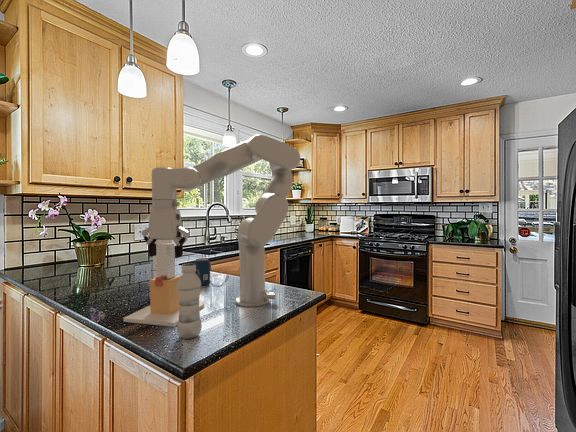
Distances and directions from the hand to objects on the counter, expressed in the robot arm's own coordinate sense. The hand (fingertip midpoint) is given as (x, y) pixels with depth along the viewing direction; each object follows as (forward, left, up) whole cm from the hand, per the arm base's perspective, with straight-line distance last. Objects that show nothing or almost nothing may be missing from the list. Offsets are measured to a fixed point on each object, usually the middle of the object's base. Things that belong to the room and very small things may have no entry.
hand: (165, 256), depth 100 cm
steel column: (0, 0, -18) cm, 18 cm away
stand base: (0, 0, -19) cm, 19 cm away
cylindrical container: (+14, -18, -20) cm, 30 cm away
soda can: (+6, -35, -20) cm, 41 cm away
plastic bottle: (-17, +14, -20) cm, 29 cm away
